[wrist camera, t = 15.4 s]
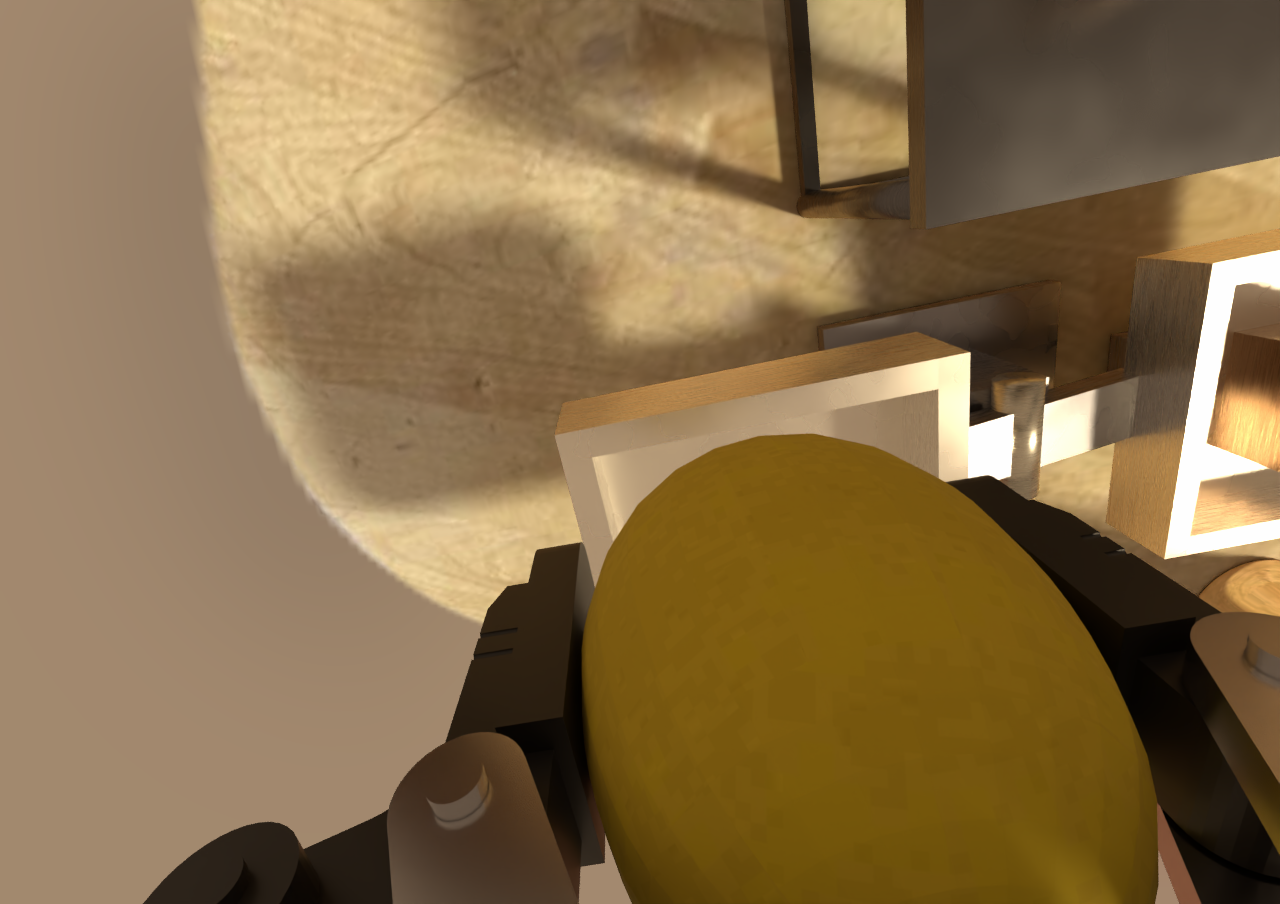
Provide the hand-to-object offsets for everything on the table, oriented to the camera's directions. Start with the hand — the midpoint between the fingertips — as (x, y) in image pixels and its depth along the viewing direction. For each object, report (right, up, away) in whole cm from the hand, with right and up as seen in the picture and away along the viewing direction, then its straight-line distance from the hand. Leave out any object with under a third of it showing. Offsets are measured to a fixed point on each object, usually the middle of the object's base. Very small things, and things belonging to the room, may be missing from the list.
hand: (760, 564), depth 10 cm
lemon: (0, +1, +2) cm, 2 cm away
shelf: (+11, +5, +17) cm, 21 cm away
